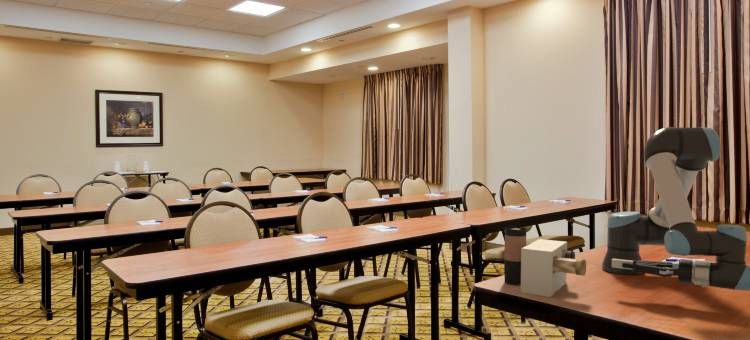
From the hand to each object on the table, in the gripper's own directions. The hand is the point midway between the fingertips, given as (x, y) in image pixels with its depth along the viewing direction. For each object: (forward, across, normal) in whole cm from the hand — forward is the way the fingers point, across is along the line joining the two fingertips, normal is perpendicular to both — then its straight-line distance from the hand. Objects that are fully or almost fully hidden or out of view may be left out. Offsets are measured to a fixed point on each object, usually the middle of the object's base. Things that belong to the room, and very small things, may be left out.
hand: (612, 262), depth 180 cm
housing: (+21, -6, -10) cm, 24 cm away
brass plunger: (+13, -12, -3) cm, 18 cm away
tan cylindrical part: (+19, 0, -3) cm, 20 cm away
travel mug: (+32, -6, -10) cm, 34 cm away
